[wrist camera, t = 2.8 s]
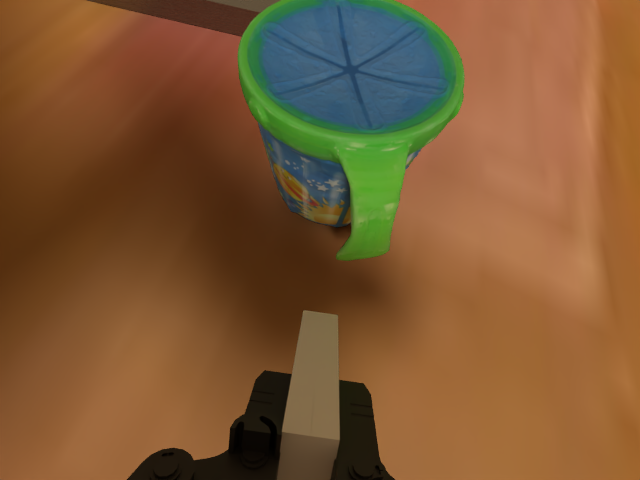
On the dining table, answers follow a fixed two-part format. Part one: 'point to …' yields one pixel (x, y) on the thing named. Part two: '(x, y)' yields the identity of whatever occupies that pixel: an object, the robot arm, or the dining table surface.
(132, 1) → the plate
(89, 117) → the dining table surface
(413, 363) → the dining table surface
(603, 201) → the dining table surface
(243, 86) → the snack cup
